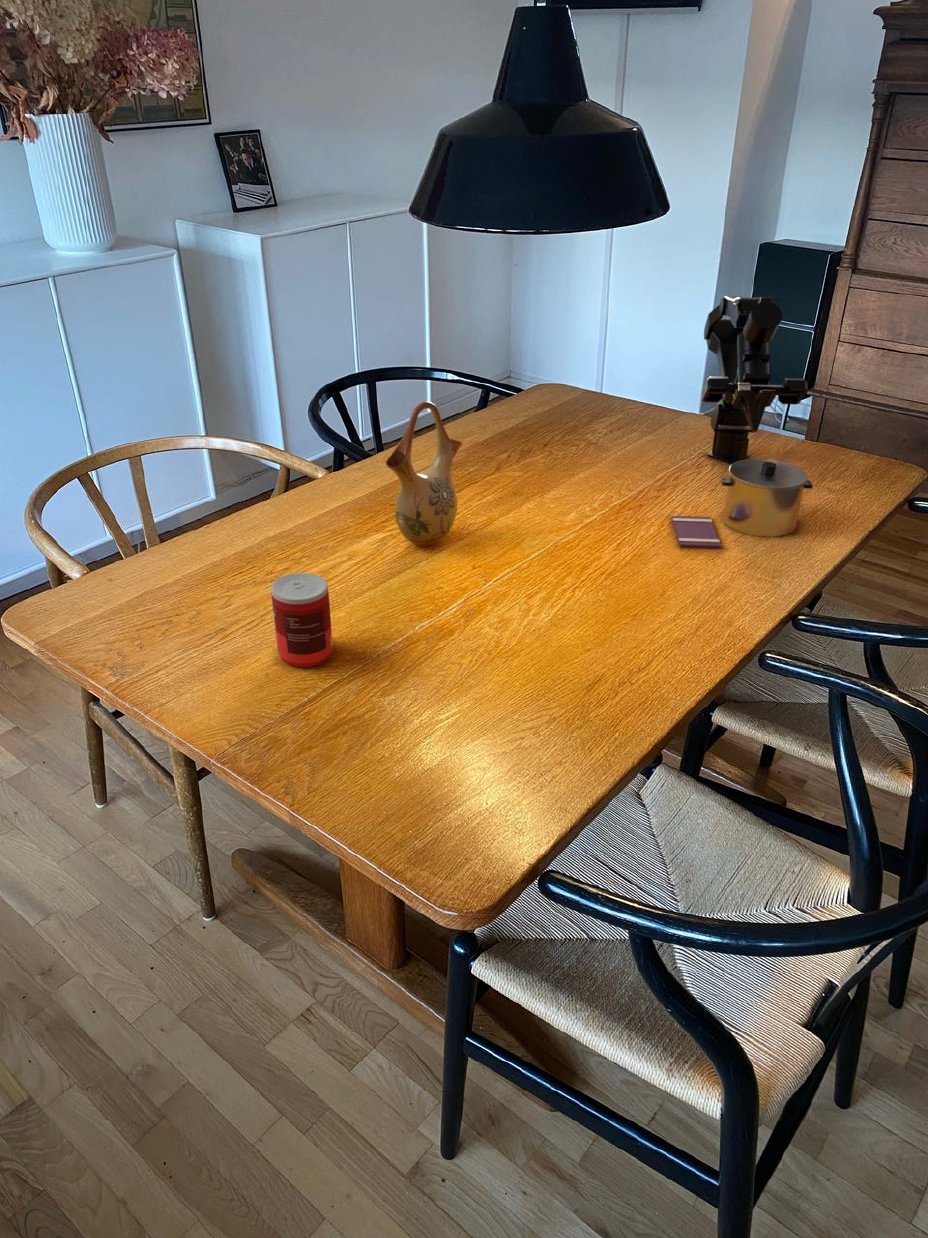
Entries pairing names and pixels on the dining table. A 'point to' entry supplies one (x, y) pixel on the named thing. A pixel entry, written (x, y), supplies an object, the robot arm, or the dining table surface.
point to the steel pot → (764, 496)
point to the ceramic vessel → (425, 486)
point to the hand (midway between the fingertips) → (755, 430)
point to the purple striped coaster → (695, 532)
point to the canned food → (302, 619)
